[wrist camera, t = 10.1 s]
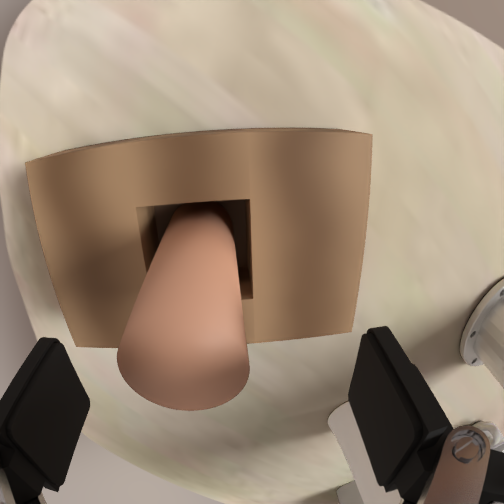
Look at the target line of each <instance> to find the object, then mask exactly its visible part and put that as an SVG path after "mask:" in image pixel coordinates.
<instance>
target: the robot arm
mask: <svg viewBox="0 0 504 504" xmlns="http://www.w3.org/2000/svg"><path fill="white" fill-rule="evenodd" d="M460 354H461V356H462V358H463V359H464V361H465V362H466V363H467V364H468V365H470V366H479V365H483V364H484V365H485V366H486V367H487V368H488V369H489V371H490V372H491V373H492V374H493V376H494V377H495V378H496V379H497V381H498V382H499V383H500V384H501V386H502V387H503V388H504V279H502V280H501V281H500V282H498V283H497V284H496V285H495V286H494V287H493V288H492V289H491V290H490V291H489V292H488V293H487V294H486V295H485V296H484V298H483V299H482V300H481V302H480V303H479V304H478V306H477V307H476V309H475V310H474V312H473V313H472V315H471V317H470V319H469V321H468V323H467V325H466V327H465V329H464V332H463V335H462V338H461V343H460ZM348 398H349V403H350V406H351V409H352V412H353V414H354V417H355V420H356V423H357V425H358V428H359V431H360V434H361V437H362V440H363V442H364V445H365V448H366V451H367V454H368V457H369V460H370V463H371V466H372V469H373V472H374V475H375V478H376V481H377V483H378V485H379V486H384V489H385V492H386V493H387V492H390V491H393V490H396V489H398V492H399V494H400V497H401V500H400V503H399V504H504V453H503V452H500V451H496V450H493V449H490V442H489V439H488V437H487V436H486V434H485V433H484V432H483V431H481V430H480V429H479V428H476V427H474V426H468V425H465V426H459V427H457V428H455V429H453V427H452V425H451V424H450V422H449V420H448V418H447V417H446V415H445V413H444V411H443V410H442V408H441V406H440V405H439V403H438V401H437V399H436V398H435V396H434V394H433V393H432V391H431V389H430V388H429V386H428V385H427V383H426V381H425V380H424V378H423V376H422V375H421V373H420V372H419V370H418V368H417V367H416V366H415V365H414V364H412V363H411V362H410V360H409V359H408V357H407V355H406V354H405V352H404V351H403V349H402V348H401V346H400V344H399V343H398V341H397V340H396V338H395V337H394V335H393V334H392V332H391V331H390V329H389V328H388V327H387V326H383V327H376V328H370V329H368V331H367V334H363V335H362V338H361V342H360V347H359V352H358V356H357V360H356V365H355V369H354V373H353V377H352V381H351V385H350V389H349V393H348ZM89 408H90V399H89V397H88V395H87V393H86V391H85V389H84V387H83V385H82V384H81V382H80V380H79V377H78V375H77V373H76V371H75V369H74V367H73V365H72V363H71V361H70V358H69V356H68V354H67V352H66V349H65V347H64V345H63V344H62V343H60V341H59V340H58V339H56V338H46V337H42V338H40V339H39V340H38V342H37V343H36V345H35V346H34V348H33V349H32V351H31V352H30V354H29V355H28V357H27V358H26V360H25V361H24V363H23V365H22V366H21V368H20V369H19V371H18V372H17V374H16V375H15V377H14V378H13V380H12V382H11V383H10V385H9V387H8V388H7V390H6V392H5V393H4V395H3V397H2V398H1V400H0V504H47V503H46V501H45V499H44V497H43V494H42V492H41V491H42V488H43V487H45V488H47V489H50V490H53V491H56V492H58V491H59V487H60V486H61V485H63V483H64V481H65V478H66V475H67V472H68V469H69V466H70V462H71V459H72V456H73V453H74V450H75V447H76V444H77V442H78V439H79V436H80V433H81V430H82V427H83V425H84V422H85V419H86V416H87V414H88V411H89Z"/></svg>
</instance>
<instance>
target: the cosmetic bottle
mask: <svg viewBox="0 0 504 504" xmlns="http://www.w3.org/2000/svg"><path fill="white" fill-rule="evenodd" d="M328 425H329V427H330V429H331V430H332V432H333V434H334V436H335V437H336V439H337V441H338V443H339V445H340V447H341V449H342V451H343V453H344V456H345V458H346V460H347V462H348V465H349V467H350V470H351V472H352V474H353V477H354V479H355V482H356V484H357V487H358V490H359V492H360V495H361V497H362V500H363V503H364V504H399V503H400V500H401V497H400V494H399V492H398V489H396V490H393V491H390V492H387V493H386V492H385V489H384V486H379V485H378V483H377V481H376V478H375V475H374V472H373V469H372V466H371V463H370V460H369V457H368V454H367V451H366V448H365V445H364V442H363V440H362V437H361V434H360V431H359V428H358V425H357V423H356V420H355V417H354V414H353V412H352V409H351V406H350V403H349V401H348V402H346V403H344V404H342V405H341V406H339V407H338V408H336V409H335V410H334V411H333V412H332V413H331V414H330V416H329V418H328Z"/></svg>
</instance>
